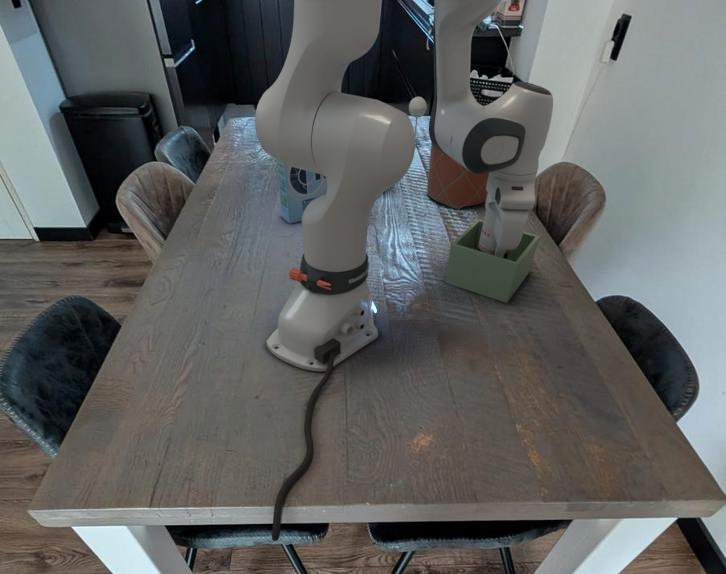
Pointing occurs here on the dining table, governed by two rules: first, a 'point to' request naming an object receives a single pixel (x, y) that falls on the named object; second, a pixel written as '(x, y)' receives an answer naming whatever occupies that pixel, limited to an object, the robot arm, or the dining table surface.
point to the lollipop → (417, 108)
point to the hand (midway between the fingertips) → (494, 248)
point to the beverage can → (489, 231)
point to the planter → (454, 182)
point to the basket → (489, 265)
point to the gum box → (298, 190)
